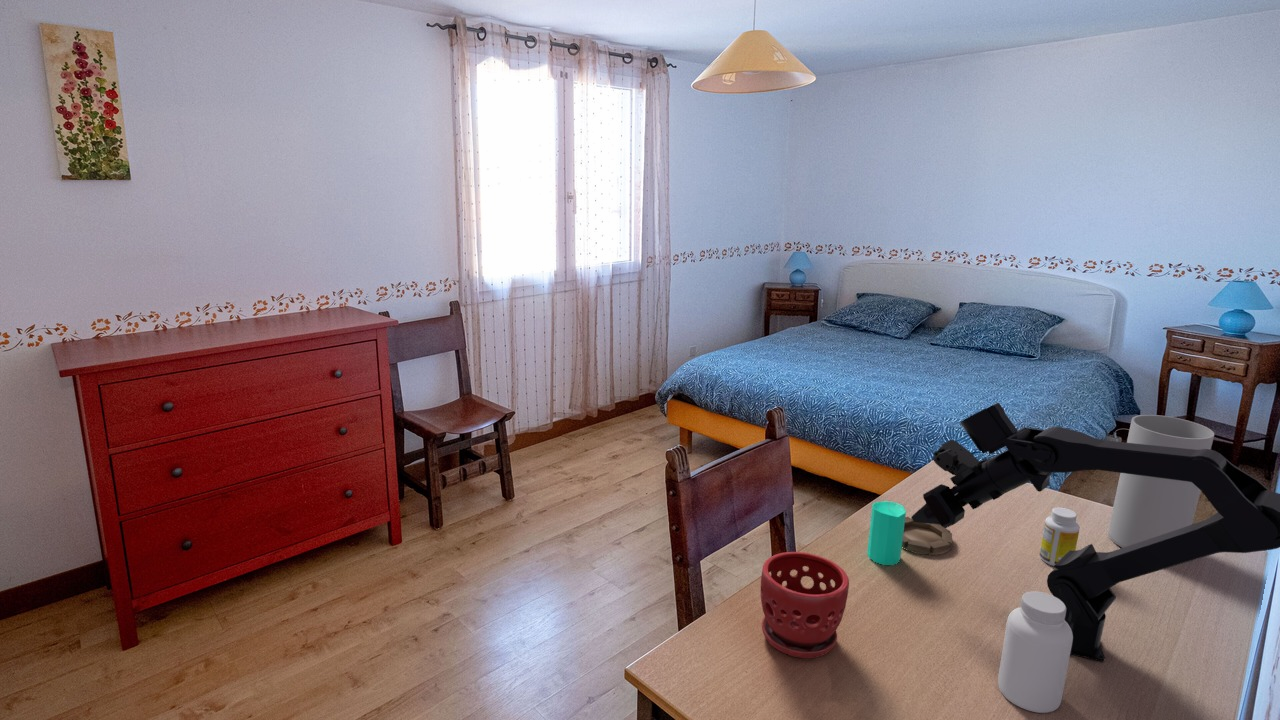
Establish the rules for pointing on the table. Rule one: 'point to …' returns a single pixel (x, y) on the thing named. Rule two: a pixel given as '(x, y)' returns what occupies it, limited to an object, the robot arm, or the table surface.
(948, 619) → the table surface
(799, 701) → the table surface
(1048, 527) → the supplement bottle
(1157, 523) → the cylinder vase
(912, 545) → the ring seat
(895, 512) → the candle
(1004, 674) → the pill bottle
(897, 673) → the table surface
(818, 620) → the plant pot
